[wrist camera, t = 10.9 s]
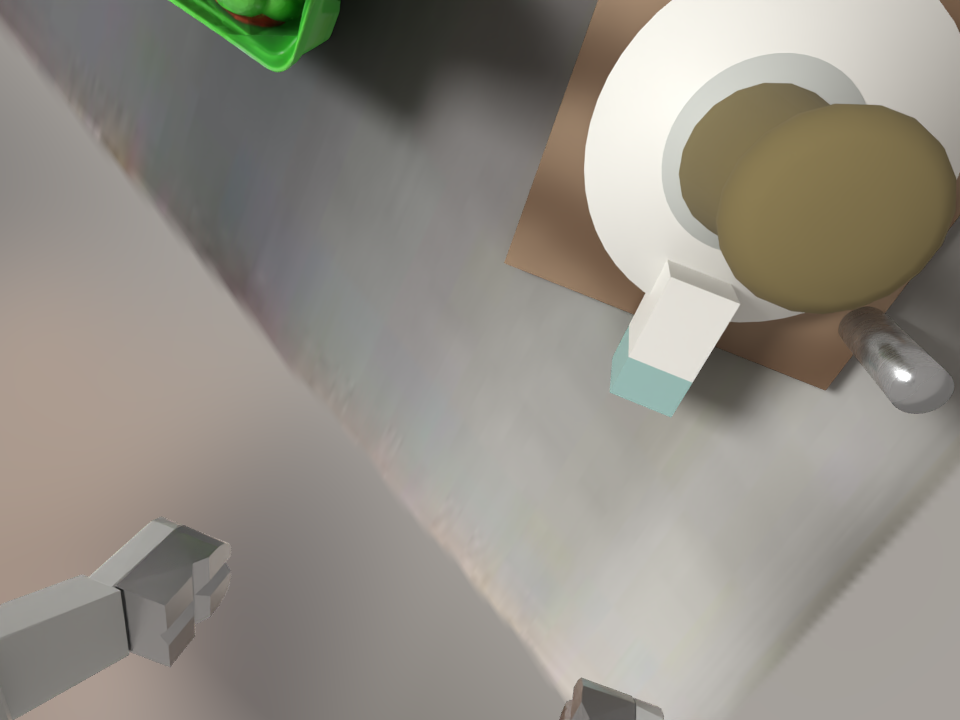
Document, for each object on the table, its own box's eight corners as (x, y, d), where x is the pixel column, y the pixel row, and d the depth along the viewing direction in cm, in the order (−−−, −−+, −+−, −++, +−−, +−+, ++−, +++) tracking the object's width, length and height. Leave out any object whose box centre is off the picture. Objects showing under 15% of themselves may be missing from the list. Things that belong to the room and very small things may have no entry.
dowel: (848, 292, 26) (913, 357, 20) (890, 308, 26) (967, 378, 20) (822, 328, 27) (876, 401, 21) (862, 344, 27) (928, 421, 21)
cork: (824, 50, 20) (990, 25, 11) (860, 206, 22) (1027, 301, 13) (658, 126, 23) (674, 159, 13) (703, 261, 25) (744, 375, 15)
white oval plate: (676, -101, 21) (684, -135, 17) (1054, 29, 20) (1136, 19, 16) (514, 317, 29) (499, 347, 26) (769, 420, 28) (786, 464, 25)
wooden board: (655, -154, 21) (656, -166, 20) (1106, -1, 20) (1132, -5, 19) (508, 257, 29) (503, 264, 28) (819, 380, 28) (826, 392, 27)
